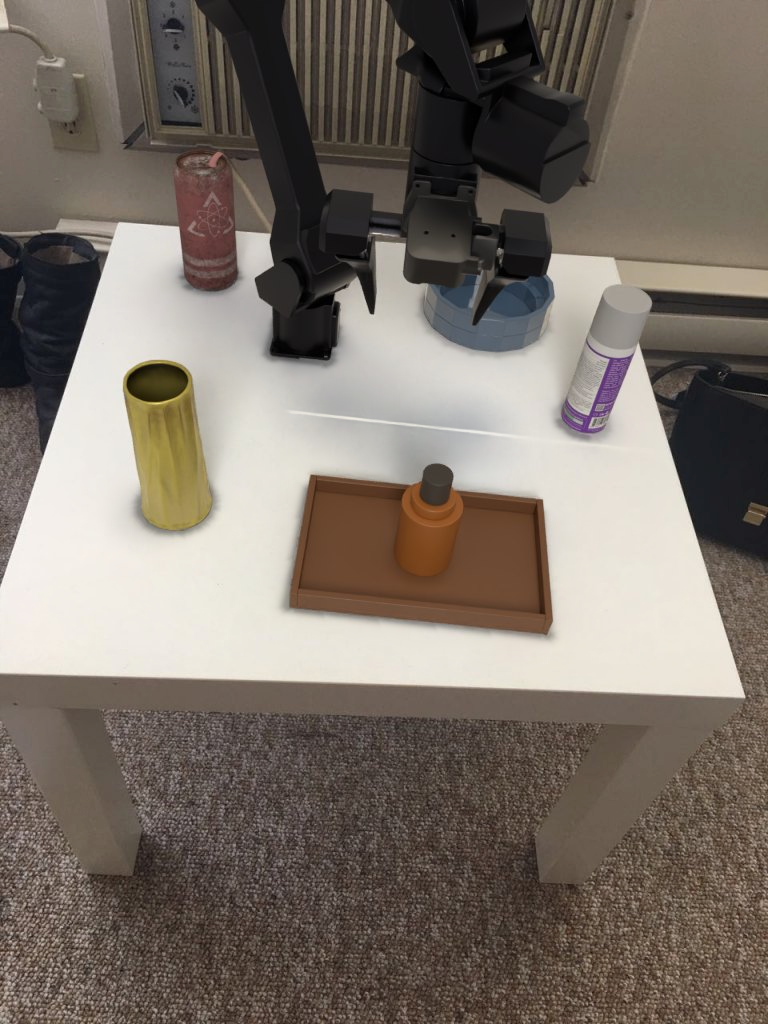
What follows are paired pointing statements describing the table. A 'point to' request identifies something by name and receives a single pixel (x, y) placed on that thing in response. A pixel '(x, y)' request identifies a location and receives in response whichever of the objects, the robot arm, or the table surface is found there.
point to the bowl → (491, 313)
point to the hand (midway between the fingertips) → (423, 317)
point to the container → (605, 358)
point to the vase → (167, 444)
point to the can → (206, 219)
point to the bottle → (428, 523)
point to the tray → (439, 598)
